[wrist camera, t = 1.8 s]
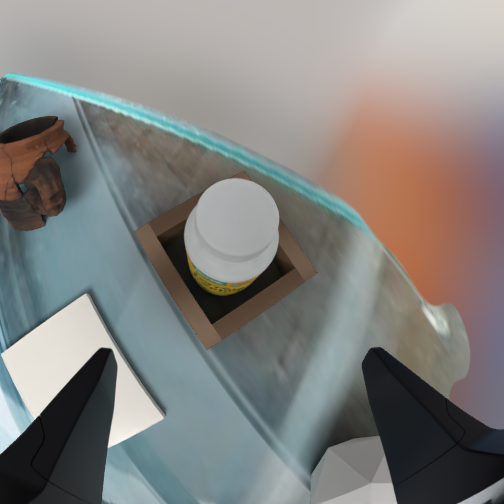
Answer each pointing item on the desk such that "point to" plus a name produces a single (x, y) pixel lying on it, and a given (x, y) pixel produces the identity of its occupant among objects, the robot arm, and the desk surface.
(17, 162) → the broken brown clay pot
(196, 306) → the walnut holder
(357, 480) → the die
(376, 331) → the desk surface
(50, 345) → the off-white coaster
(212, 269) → the supplement bottle
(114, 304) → the desk surface
